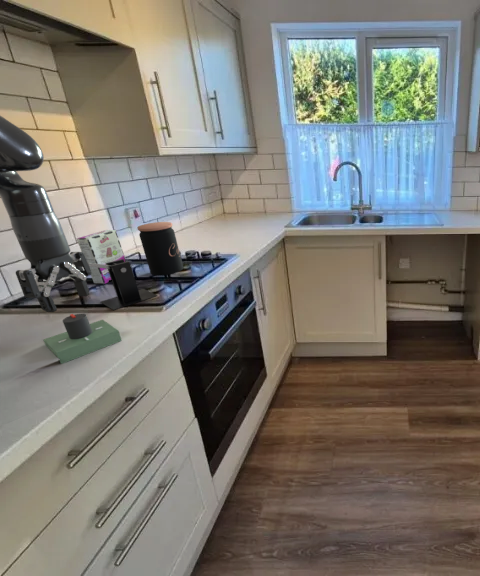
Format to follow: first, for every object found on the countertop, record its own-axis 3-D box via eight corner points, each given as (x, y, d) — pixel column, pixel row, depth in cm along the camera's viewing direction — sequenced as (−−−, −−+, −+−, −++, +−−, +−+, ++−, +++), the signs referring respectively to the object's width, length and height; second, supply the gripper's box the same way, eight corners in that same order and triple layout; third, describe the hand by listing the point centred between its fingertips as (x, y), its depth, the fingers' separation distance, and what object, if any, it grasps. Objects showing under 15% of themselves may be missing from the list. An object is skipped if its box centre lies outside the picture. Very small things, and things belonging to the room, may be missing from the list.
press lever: (75, 268, 96) (77, 260, 96) (69, 265, 98) (71, 256, 98) (127, 274, 106) (129, 266, 106) (120, 271, 109) (122, 263, 108)
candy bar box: (119, 272, 135) (104, 229, 129) (130, 273, 135) (116, 229, 128) (92, 283, 125) (75, 237, 119) (104, 284, 124) (88, 238, 118)
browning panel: (61, 364, 80) (55, 352, 79) (47, 350, 86) (42, 338, 84) (121, 340, 89) (117, 329, 88) (106, 329, 94) (102, 318, 93)
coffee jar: (180, 276, 130) (167, 227, 123) (147, 279, 128) (132, 229, 121) (187, 266, 140) (175, 220, 133) (156, 269, 137) (143, 223, 130)
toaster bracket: (114, 313, 103) (99, 271, 98) (101, 305, 109) (86, 265, 104) (158, 298, 112) (147, 259, 107) (144, 291, 117) (132, 254, 112)
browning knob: (95, 333, 86) (88, 315, 85) (72, 341, 83) (65, 322, 81) (89, 328, 89) (82, 310, 87) (67, 335, 86) (59, 317, 84)
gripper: (23, 244, 70) (55, 317, 76) (85, 226, 83) (108, 291, 89) (-12, 244, 71) (23, 317, 77) (55, 226, 84) (80, 290, 90)
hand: (68, 303), depth 83 cm, fingers open, 8 cm apart
